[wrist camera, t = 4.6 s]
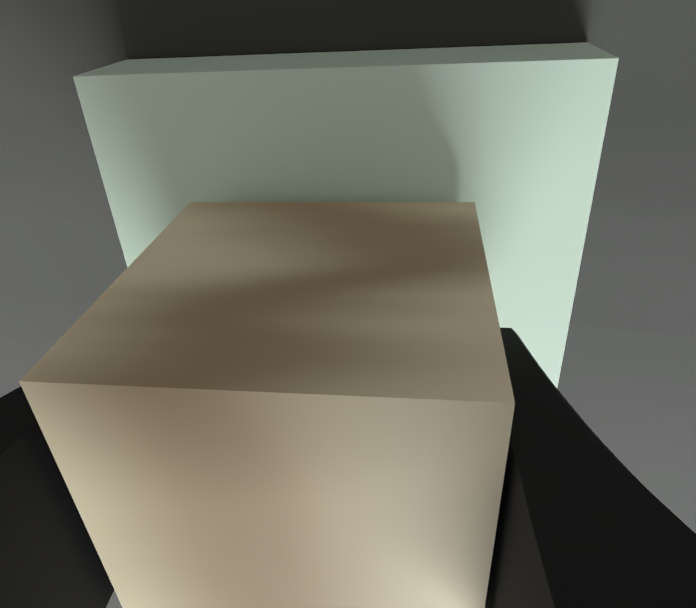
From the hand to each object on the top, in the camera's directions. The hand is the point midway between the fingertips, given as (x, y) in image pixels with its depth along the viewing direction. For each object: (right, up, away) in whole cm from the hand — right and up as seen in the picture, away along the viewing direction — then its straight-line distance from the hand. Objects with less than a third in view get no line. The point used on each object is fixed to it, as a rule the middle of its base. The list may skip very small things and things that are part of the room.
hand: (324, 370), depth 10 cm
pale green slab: (0, +2, +4) cm, 4 cm away
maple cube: (0, +1, +1) cm, 2 cm away
